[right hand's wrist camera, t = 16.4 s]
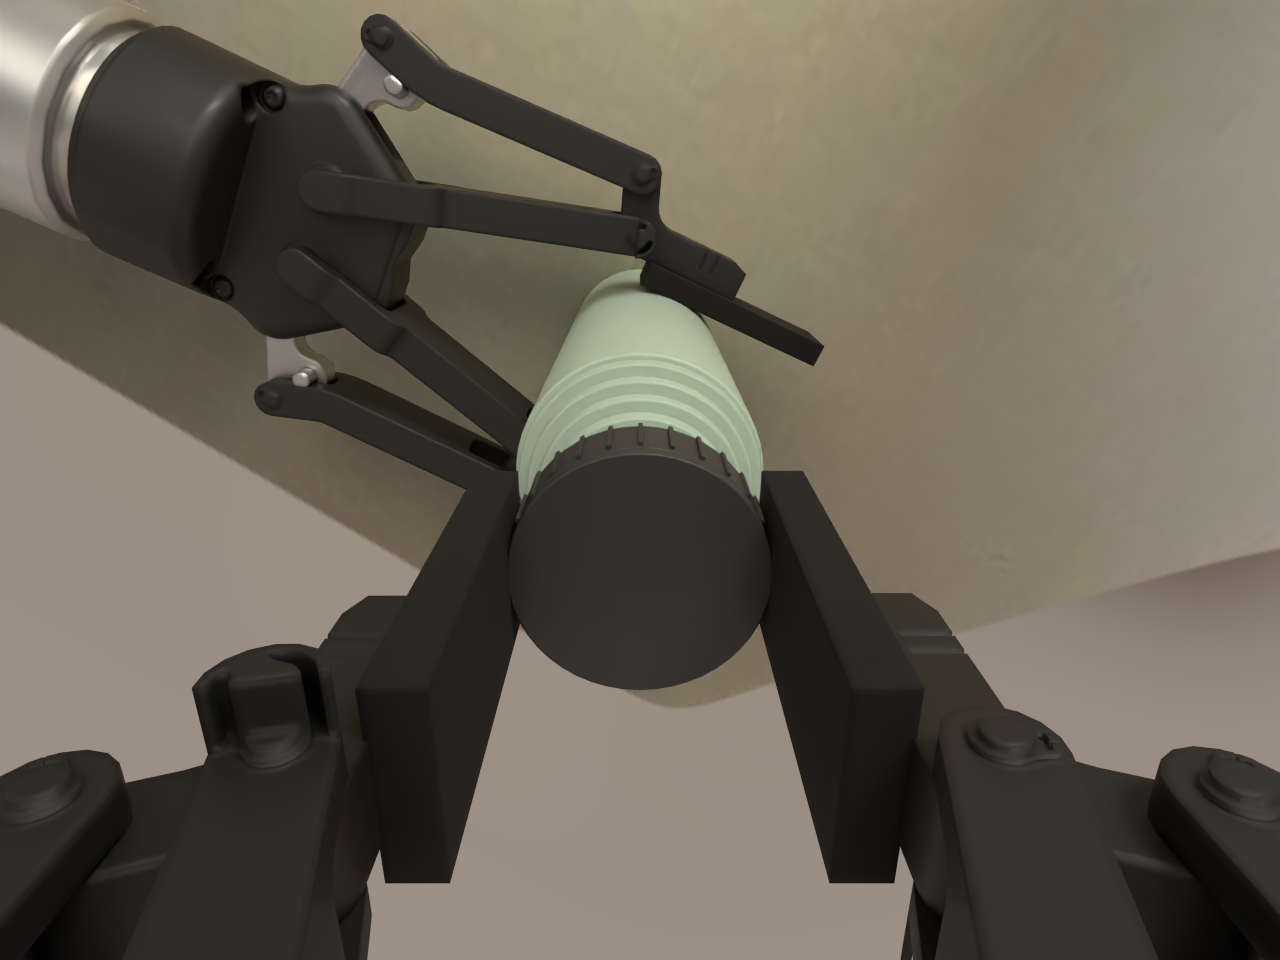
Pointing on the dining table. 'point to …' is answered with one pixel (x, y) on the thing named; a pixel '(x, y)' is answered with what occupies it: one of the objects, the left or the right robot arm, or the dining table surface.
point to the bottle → (638, 381)
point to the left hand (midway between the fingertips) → (767, 426)
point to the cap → (639, 559)
